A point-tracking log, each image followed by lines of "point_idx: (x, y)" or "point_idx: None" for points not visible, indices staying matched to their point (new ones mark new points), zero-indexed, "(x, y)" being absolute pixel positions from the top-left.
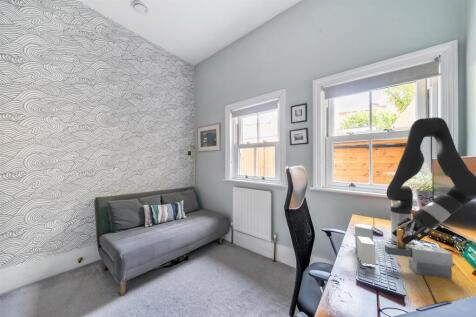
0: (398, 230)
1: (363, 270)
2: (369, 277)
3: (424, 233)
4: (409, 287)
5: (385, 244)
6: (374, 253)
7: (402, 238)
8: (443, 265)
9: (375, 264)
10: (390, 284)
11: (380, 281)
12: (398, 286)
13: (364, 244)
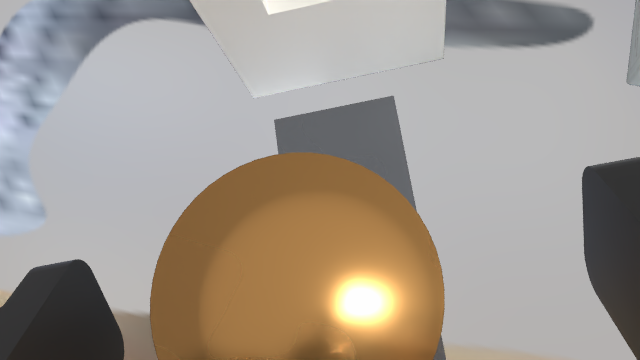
0: (209, 201)
1: (159, 5)
2: (61, 44)
3: None
4: None
5: (391, 104)
6: (197, 6)
7: (53, 286)
8: None
9: (242, 80)
10: (14, 177)
11: (31, 113)
12: (6, 231)
13: None
